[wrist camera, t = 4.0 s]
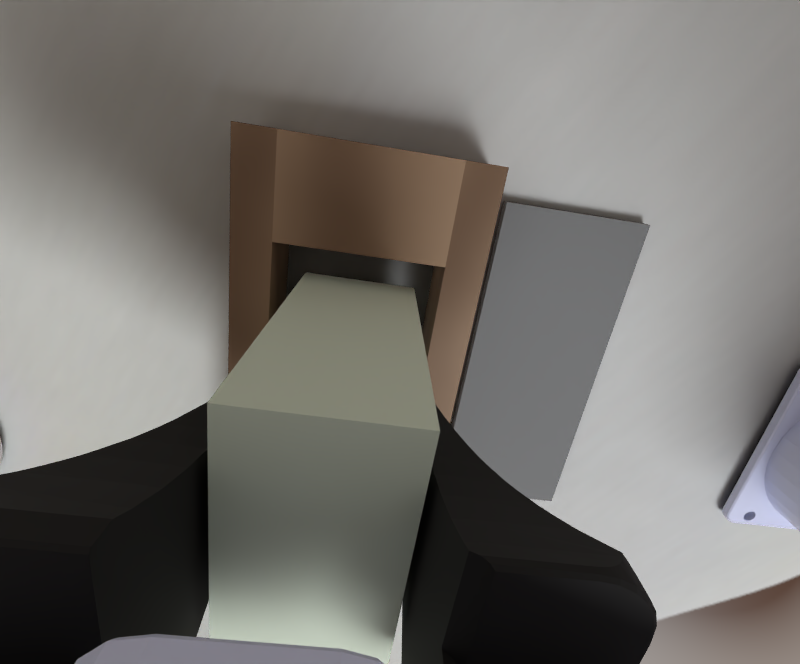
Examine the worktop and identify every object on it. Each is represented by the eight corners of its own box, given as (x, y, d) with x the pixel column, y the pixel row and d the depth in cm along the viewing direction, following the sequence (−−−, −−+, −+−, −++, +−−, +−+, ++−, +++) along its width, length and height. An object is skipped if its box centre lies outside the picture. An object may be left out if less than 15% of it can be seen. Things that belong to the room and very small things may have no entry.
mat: (643, 223, 15) (650, 225, 15) (548, 494, 19) (551, 501, 19) (504, 200, 15) (506, 202, 14) (438, 482, 19) (439, 489, 19)
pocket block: (489, 166, 14) (508, 167, 12) (417, 498, 19) (421, 545, 17) (257, 127, 14) (230, 120, 11) (246, 480, 19) (226, 526, 16)
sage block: (414, 287, 14) (440, 431, 7) (387, 441, 16) (385, 678, 9) (305, 272, 14) (207, 403, 6) (293, 430, 16) (209, 664, 9)
